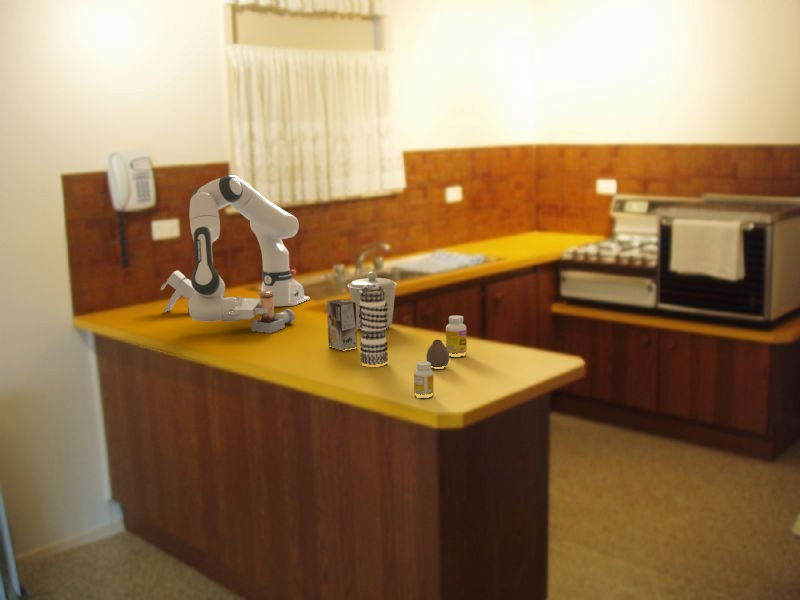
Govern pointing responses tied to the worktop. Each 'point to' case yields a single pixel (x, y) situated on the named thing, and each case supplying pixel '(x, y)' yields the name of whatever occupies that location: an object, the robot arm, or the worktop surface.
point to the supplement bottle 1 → (423, 378)
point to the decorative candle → (373, 325)
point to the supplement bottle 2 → (456, 335)
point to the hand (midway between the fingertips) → (269, 308)
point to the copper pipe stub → (267, 306)
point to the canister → (372, 280)
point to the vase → (437, 354)
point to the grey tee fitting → (278, 323)
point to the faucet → (178, 288)
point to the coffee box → (342, 324)
